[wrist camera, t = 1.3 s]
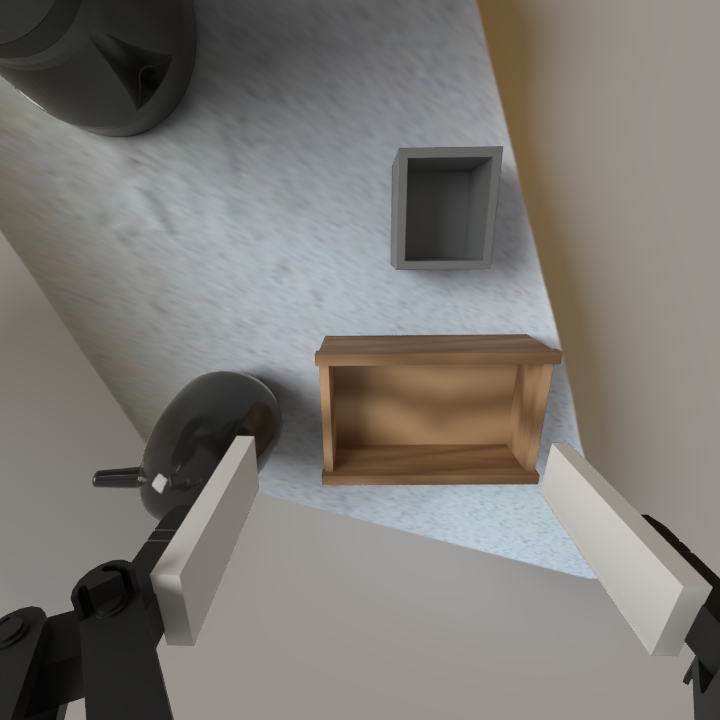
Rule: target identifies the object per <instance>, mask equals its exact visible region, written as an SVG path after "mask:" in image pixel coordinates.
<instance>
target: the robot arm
mask: <svg viewBox="0 0 720 720" xmlns="http://www.w3.org/2000/svg"><path fill="white" fill-rule="evenodd" d="M195 52H196V25H195V16H194V10H193V5H192V1H191V0H0V75H1V76H2V77H3V78H5V79H6V80H7V81H8V82H9V83H10V84H11V85H12V86H13V87H14V88H16V89H17V90H18V91H19V92H20V93H21V94H22V95H23V96H24V97H25V98H27V99H28V100H29V101H30V102H32V103H33V104H34V105H36V106H37V107H39V108H40V109H42V110H43V111H45V112H47V113H48V114H50V115H52V116H54V117H56V118H57V119H59V120H62V121H64V122H66V123H69V124H71V125H74V126H76V127H79V128H81V129H84V130H86V131H89V132H92V133H96V134H100V135H105V136H129V135H134V134H138V133H141V132H144V131H146V130H149V129H151V128H152V127H154V126H156V125H157V124H159V123H160V122H162V121H163V120H164V119H165V118H166V117H167V116H168V115H169V114H170V113H171V112H172V111H173V110H174V109H175V107H176V106H177V105H178V103H179V102H180V100H181V98H182V96H183V95H184V93H185V91H186V88H187V86H188V83H189V81H190V78H191V74H192V70H193V66H194V60H195ZM258 489H259V482H258V471H257V460H256V450H255V439H254V436H236V438H235V440H234V441H233V443H232V444H231V446H230V448H229V449H228V451H227V452H226V454H225V456H224V457H223V459H222V460H221V462H220V464H219V465H218V467H217V468H216V470H215V472H214V473H213V475H212V476H211V478H210V480H209V481H208V483H207V484H206V486H205V488H204V489H203V491H202V492H201V494H200V495H199V497H198V499H197V500H196V502H195V503H194V505H177V506H176V507H175V508H174V509H172V510H171V511H170V512H169V513H167V514H166V515H165V516H164V517H163V518H162V520H161V521H160V523H159V524H158V526H157V527H156V528H155V531H153V533H152V534H151V535H150V537H149V538H148V541H147V542H146V543H145V544H144V545H143V547H142V548H141V550H140V551H139V552H138V554H137V555H136V557H135V558H134V560H133V561H132V563H131V562H128V561H125V560H113V561H110V562H107V563H104V564H101V565H99V566H97V567H96V568H94V569H92V570H91V571H89V572H88V573H87V574H86V575H85V576H84V577H82V578H81V579H80V580H79V582H78V583H77V585H76V586H75V587H74V589H73V591H72V595H71V601H72V604H73V606H74V609H75V610H73V611H70V612H66V613H63V614H59V615H55V616H51V617H48V618H47V617H46V614H45V612H44V611H43V610H42V609H41V608H39V607H33V606H31V607H26V608H22V609H19V610H16V611H14V612H12V613H9V614H7V615H5V616H4V617H2V618H1V619H0V720H64V718H65V714H66V710H67V706H68V703H69V702H72V701H75V700H78V699H81V698H84V697H85V708H86V720H174V718H173V715H172V711H171V707H170V703H169V698H168V694H167V691H166V686H165V683H164V679H163V674H162V671H161V667H160V663H159V659H158V655H157V651H156V647H157V645H158V643H159V641H160V639H161V637H162V635H163V633H164V634H165V638H166V642H167V645H180V646H181V645H182V646H194V645H195V642H196V640H197V637H198V635H199V632H200V630H201V628H202V625H203V623H204V620H205V618H206V615H207V613H208V611H209V608H210V606H211V603H212V600H213V598H214V596H215V593H216V591H217V589H218V586H219V584H220V581H221V579H222V576H223V574H224V571H225V569H226V566H227V564H228V562H229V559H230V557H231V555H232V552H233V550H234V547H235V545H236V542H237V540H238V537H239V535H240V532H241V530H242V528H243V525H244V523H245V520H246V518H247V516H248V513H249V511H250V508H251V506H252V503H253V501H254V498H255V496H256V494H257V491H258ZM540 495H541V496H542V498H543V499H544V501H545V502H546V504H547V505H548V507H549V508H550V510H551V511H552V512H553V514H554V515H555V517H556V518H557V520H558V521H559V523H560V524H561V526H562V527H563V528H564V530H565V531H566V533H567V534H568V536H569V537H570V539H571V540H572V542H573V543H574V544H575V546H576V547H577V549H578V550H579V552H580V553H581V555H582V556H583V558H584V559H585V560H586V562H587V563H588V565H589V566H590V568H591V569H592V571H593V572H594V574H595V575H596V576H597V578H598V579H599V581H600V582H601V584H602V585H603V587H604V588H605V590H606V591H607V592H608V594H609V595H610V597H611V598H612V600H613V601H614V602H615V604H616V606H617V607H618V608H619V610H620V611H621V613H622V614H623V616H624V617H625V619H626V620H627V622H628V623H629V624H630V626H631V627H632V629H633V630H634V632H635V633H636V634H637V636H638V638H639V639H640V640H641V642H642V643H643V645H644V646H645V647H646V649H647V651H648V652H649V654H650V655H651V656H678V654H679V652H680V650H681V648H682V646H683V645H684V643H685V642H686V643H687V645H688V646H689V647H690V648H691V650H692V651H693V652H694V653H695V655H696V656H695V658H694V660H693V661H692V663H691V665H690V667H689V669H688V671H687V673H686V674H685V677H684V680H683V682H684V683H685V684H687V685H688V684H689V682H690V680H691V679H693V696H694V719H695V720H720V578H719V577H718V576H717V575H716V574H715V573H714V572H712V571H711V570H710V569H709V568H708V567H707V566H706V565H705V564H704V563H703V562H702V561H701V560H700V559H699V558H698V557H697V556H696V555H694V554H693V553H691V552H690V550H689V549H688V548H687V547H686V546H685V545H684V544H683V543H682V542H680V541H679V539H678V538H677V537H676V536H675V535H674V534H673V533H672V532H671V531H670V530H669V529H668V528H667V527H666V526H664V525H663V524H661V523H660V522H658V521H656V520H655V519H653V518H652V517H650V516H649V515H640V514H639V513H638V512H637V511H636V510H635V509H634V508H633V507H632V506H631V505H630V504H629V503H628V502H627V501H626V500H625V499H624V498H623V497H622V496H621V495H620V494H619V493H618V492H617V491H616V490H615V489H614V488H613V487H612V486H611V485H610V484H609V483H608V482H607V481H606V480H605V479H604V478H603V477H602V476H601V475H600V474H599V473H598V472H597V471H596V470H595V469H594V468H593V467H592V466H591V465H590V464H589V463H588V462H587V461H586V460H585V459H584V458H583V457H582V456H581V455H580V454H579V453H578V452H577V451H576V450H575V449H574V448H573V447H572V446H571V445H570V444H569V443H552V445H551V449H550V453H549V457H548V461H547V465H546V469H545V474H544V478H543V482H542V486H541V490H540Z"/></svg>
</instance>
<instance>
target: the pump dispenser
mask: <svg viewBox="0 0 720 720" xmlns="http://www.w3.org/2000/svg"><path fill="white" fill-rule="evenodd" d="M282 429H283V421H282V415H281V411H280V408H279V406H278V403H277V401H276V399H275V397H274V395H273V393H272V392H271V391H270V389H269V388H268V387H267V386H266V385H265V384H264V383H262V382H261V381H260V380H258V379H256V378H255V377H253V376H250V375H248V374H245V373H240V372H231V371H228V372H226V371H219V372H212V373H207V374H204V375H202V376H199V377H198V378H196V379H194V380H193V381H191V382H190V383H189V384H187V385H186V386H185V387H184V388H183V389H182V390H181V391H180V392H179V393H178V394H177V395H176V396H175V398H174V399H173V400H172V401H171V403H170V404H169V405H168V407H167V408H166V409H165V411H164V412H163V413H162V415H161V417H160V418H159V420H158V421H157V423H156V425H155V427H154V429H153V431H152V433H151V435H150V437H149V439H148V442H147V444H146V447H145V450H144V454H143V458H142V462H141V465H140V467H135V468H124V469H111V470H100V471H97V472H96V473H95V474H94V476H93V479H92V484H93V486H94V487H103V488H135V489H138V492H139V497H140V501H141V504H142V506H143V508H144V510H145V511H146V512H147V513H148V514H149V515H150V516H151V517H152V518H154V519H155V520H157V521H159V522H160V521H161V520H162V518H163V517H164V516H165V515H166V514H167V513H169V512H170V511H171V510H172V509H174V508H175V507H176V506H177V505H194V503H195V502H196V500H197V499H198V497H199V495H200V494H201V492H202V491H203V489H204V488H205V486H206V484H207V483H208V481H209V480H210V478H211V476H212V475H213V473H214V472H215V470H216V468H217V467H218V465H219V464H220V462H221V460H222V459H223V457H224V456H225V454H226V452H227V451H228V449H229V448H230V446H231V444H232V443H233V441H234V440H235V438H236V436H254V439H255V450H256V460H257V471H258V474H259V473H260V472H261V470H262V469H263V468H264V466H265V465H266V464H267V462H268V461H269V459H270V458H271V456H272V455H273V453H274V452H275V450H276V448H277V446H278V443H279V441H280V438H281V435H282Z"/></svg>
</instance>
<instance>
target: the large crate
mask: <svg viewBox="0 0 720 720" xmlns="http://www.w3.org/2000/svg"><path fill="white" fill-rule="evenodd" d="M562 353H563V352H561V351H559V350H557V349H551V348H549V347H547V346H546V345H544V344H542V343H540V342H539V341H537V340H535V339H533V338H532V337H530V336H528V335H527V334H516V335H403V336H325V338H324V341H323V343H322V345H321V348H320V350H319V351H316V353H315V366H319V376H320V395H321V413H322V432H323V451H324V469H323V472H322V485H455V484H538V482H539V476H540V475H539V474H538V472H537V471H536V470H535V465H536V460H537V454H538V449H539V443H540V438H541V432H542V427H543V421H544V415H545V410H546V404H547V399H548V393H549V388H550V382H551V377H552V371H553V365H554V364H561V359H562Z"/></svg>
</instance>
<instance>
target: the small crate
mask: <svg viewBox="0 0 720 720" xmlns="http://www.w3.org/2000/svg"><path fill="white" fill-rule="evenodd" d="M502 152H503V146H497V147H435V148H399V150H398V153H397V155H396V158H395V160H394V163H393V166H392V215H391V265H392V266H393V267H394V268H395V269H396V270H427V269H490V265H491V256H492V246H493V237H494V227H495V218H496V209H497V199H498V190H499V181H500V171H501V162H502Z"/></svg>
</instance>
